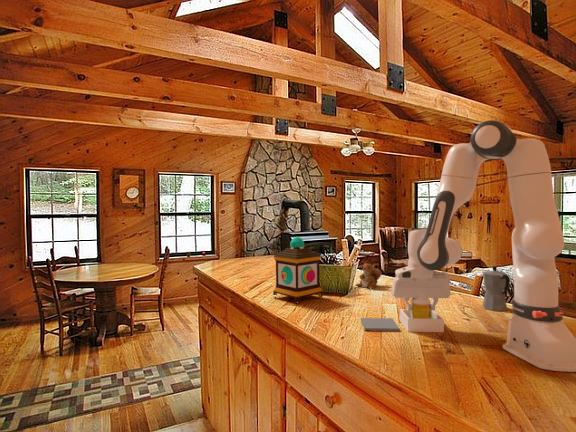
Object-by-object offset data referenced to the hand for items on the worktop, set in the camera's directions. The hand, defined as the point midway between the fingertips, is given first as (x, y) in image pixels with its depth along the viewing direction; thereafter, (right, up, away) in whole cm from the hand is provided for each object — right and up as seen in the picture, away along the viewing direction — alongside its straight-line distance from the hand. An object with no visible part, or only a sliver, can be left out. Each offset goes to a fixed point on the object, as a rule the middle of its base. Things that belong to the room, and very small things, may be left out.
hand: (420, 309), depth 134 cm
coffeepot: (+40, -5, +21) cm, 45 cm away
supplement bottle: (0, -6, 0) cm, 6 cm away
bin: (0, -6, 0) cm, 6 cm away
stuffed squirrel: (-4, -5, +68) cm, 69 cm away
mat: (-15, -6, +1) cm, 16 cm away
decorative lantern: (-44, -6, +44) cm, 63 cm away
